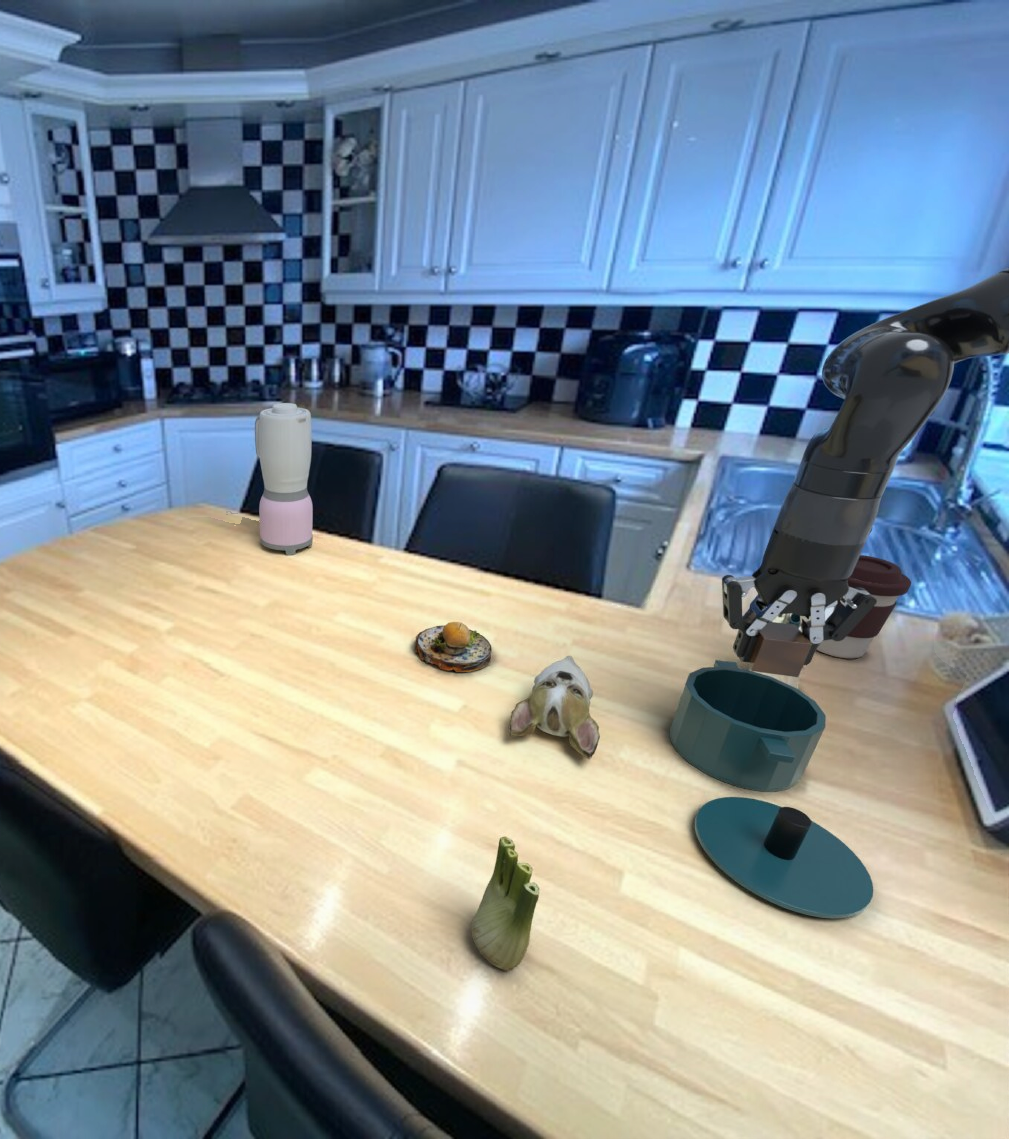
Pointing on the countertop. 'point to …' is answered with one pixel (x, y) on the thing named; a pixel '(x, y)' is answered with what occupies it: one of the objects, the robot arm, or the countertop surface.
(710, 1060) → the countertop surface
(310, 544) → the blender
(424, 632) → the burger
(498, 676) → the countertop surface
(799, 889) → the lid
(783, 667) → the block
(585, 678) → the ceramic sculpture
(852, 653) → the coffee cup
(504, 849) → the fennel bulb
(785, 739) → the pot
